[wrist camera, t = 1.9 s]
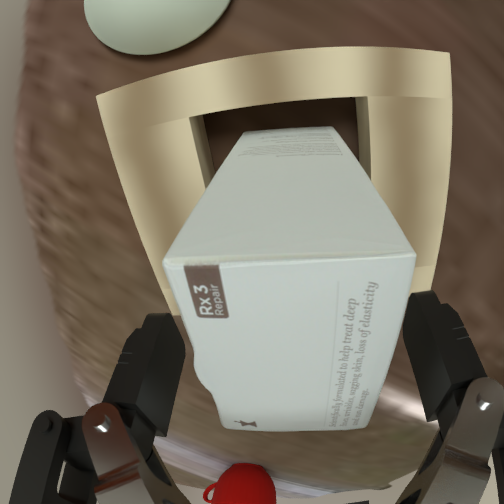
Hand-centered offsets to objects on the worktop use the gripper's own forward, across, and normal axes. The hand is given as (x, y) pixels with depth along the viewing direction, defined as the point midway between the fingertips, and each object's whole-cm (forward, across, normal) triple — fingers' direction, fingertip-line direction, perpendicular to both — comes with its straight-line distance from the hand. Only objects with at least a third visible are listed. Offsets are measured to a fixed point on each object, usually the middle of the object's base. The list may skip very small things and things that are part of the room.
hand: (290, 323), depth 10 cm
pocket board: (+12, 0, 0) cm, 13 cm away
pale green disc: (+13, +6, -15) cm, 20 cm away
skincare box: (+13, 0, 0) cm, 13 cm away
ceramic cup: (+13, +14, +60) cm, 63 cm away
